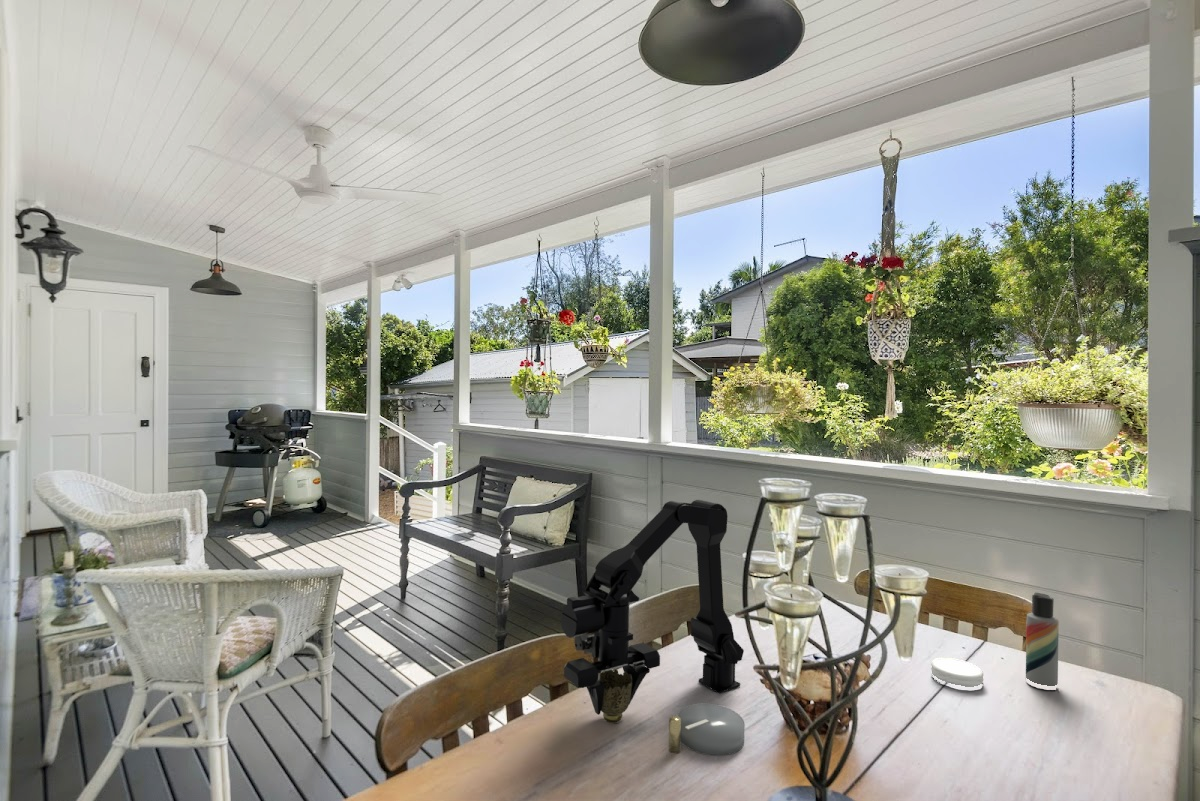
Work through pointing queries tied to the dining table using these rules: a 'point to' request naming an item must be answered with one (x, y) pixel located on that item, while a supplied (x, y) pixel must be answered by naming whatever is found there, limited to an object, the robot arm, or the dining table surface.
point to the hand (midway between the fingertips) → (612, 708)
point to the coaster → (957, 672)
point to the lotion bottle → (1042, 641)
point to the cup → (615, 694)
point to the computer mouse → (711, 729)
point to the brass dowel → (674, 734)
